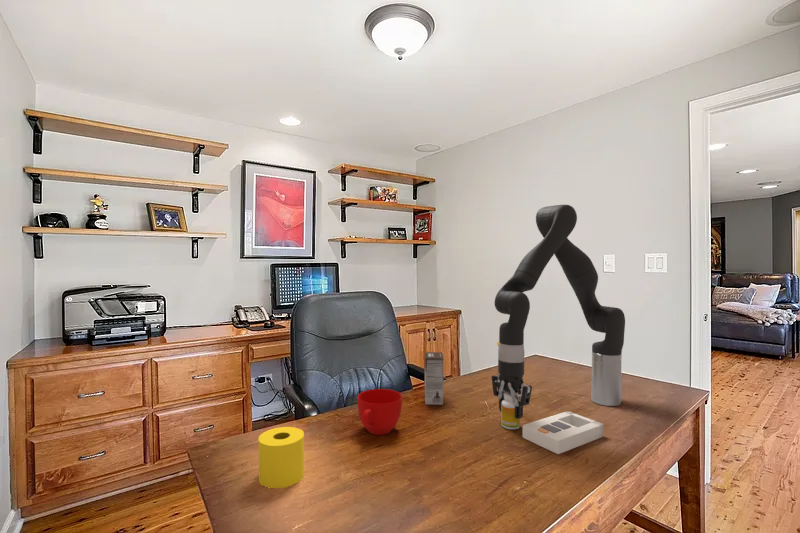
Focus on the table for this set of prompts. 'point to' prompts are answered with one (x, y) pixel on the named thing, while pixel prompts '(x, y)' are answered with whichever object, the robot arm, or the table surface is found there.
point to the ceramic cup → (379, 410)
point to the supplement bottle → (509, 412)
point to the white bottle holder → (563, 431)
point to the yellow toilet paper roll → (281, 457)
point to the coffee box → (434, 378)
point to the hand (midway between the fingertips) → (510, 414)
